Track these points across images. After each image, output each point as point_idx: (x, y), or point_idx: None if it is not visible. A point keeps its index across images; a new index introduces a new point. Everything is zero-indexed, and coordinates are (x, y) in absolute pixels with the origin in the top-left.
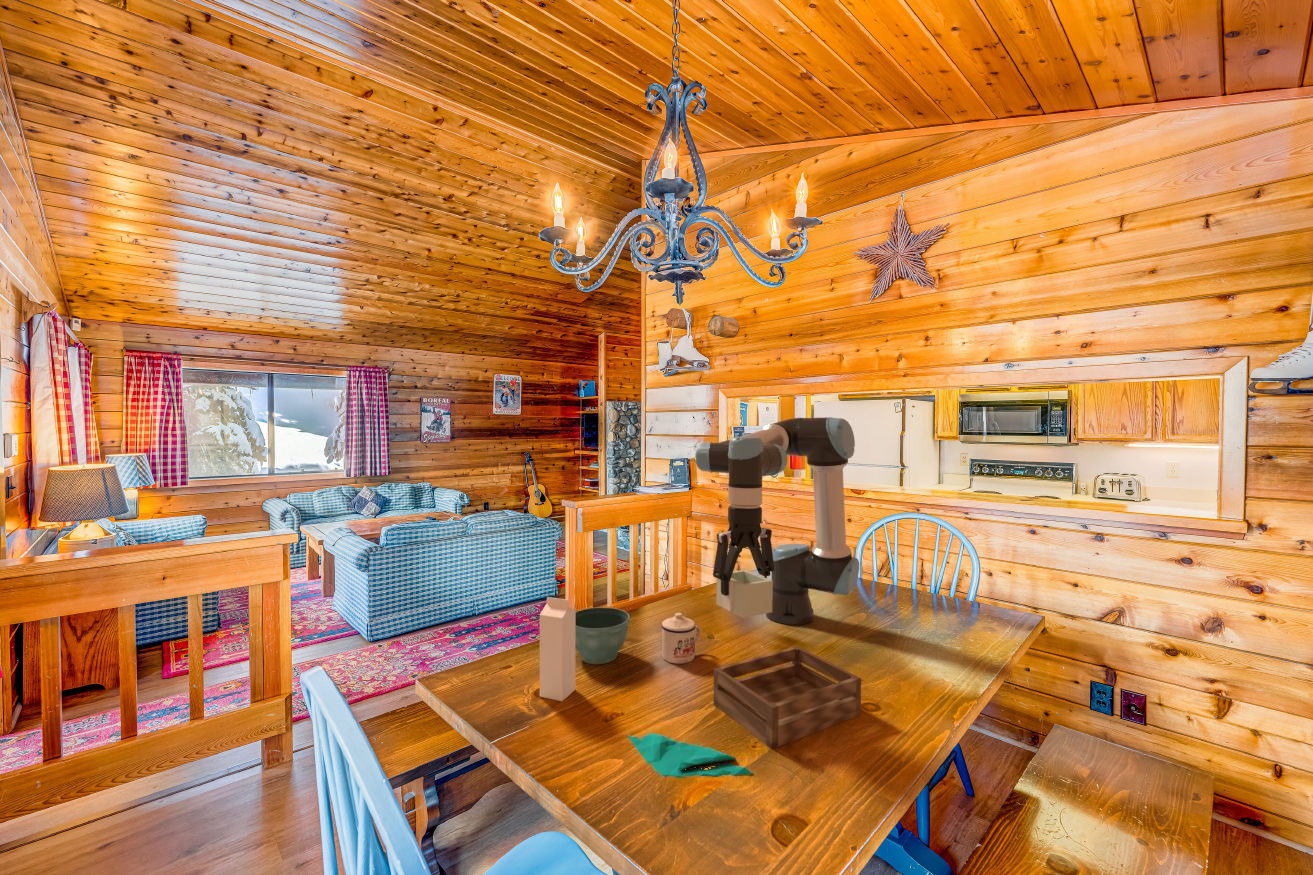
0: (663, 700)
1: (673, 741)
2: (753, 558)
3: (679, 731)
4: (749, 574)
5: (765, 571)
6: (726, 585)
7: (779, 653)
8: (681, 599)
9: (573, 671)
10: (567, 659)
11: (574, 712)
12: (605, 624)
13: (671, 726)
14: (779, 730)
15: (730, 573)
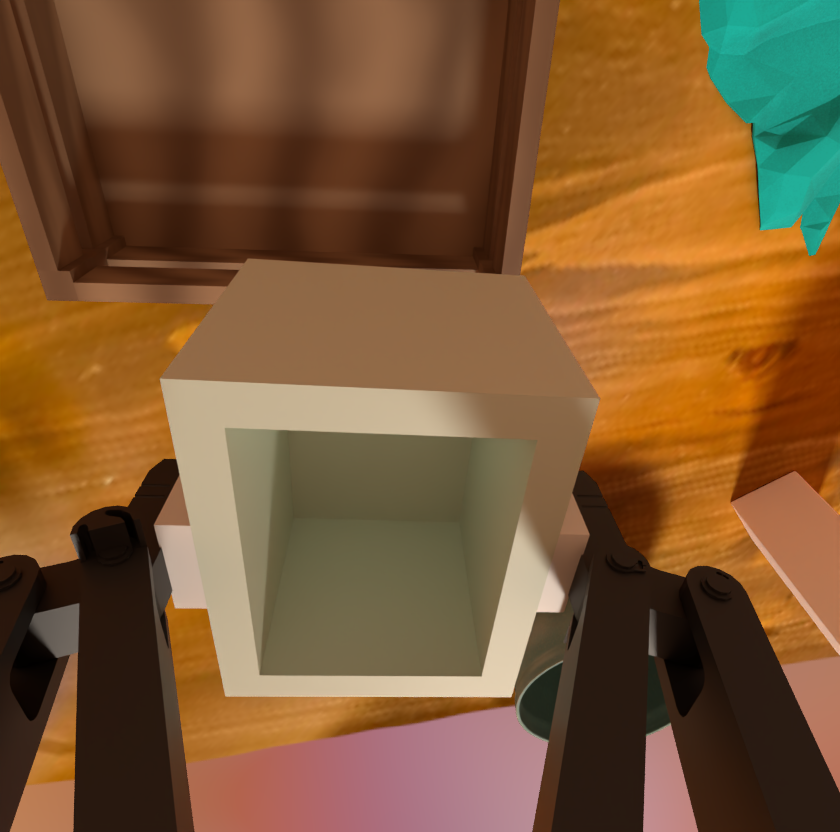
0: (598, 358)
1: (761, 141)
2: (185, 767)
3: (691, 189)
4: (255, 617)
5: (119, 567)
6: (599, 526)
7: (173, 284)
8: (186, 752)
9: (769, 534)
10: (835, 554)
11: (813, 416)
12: (536, 687)
13: (687, 227)
14: None
15: (611, 605)
